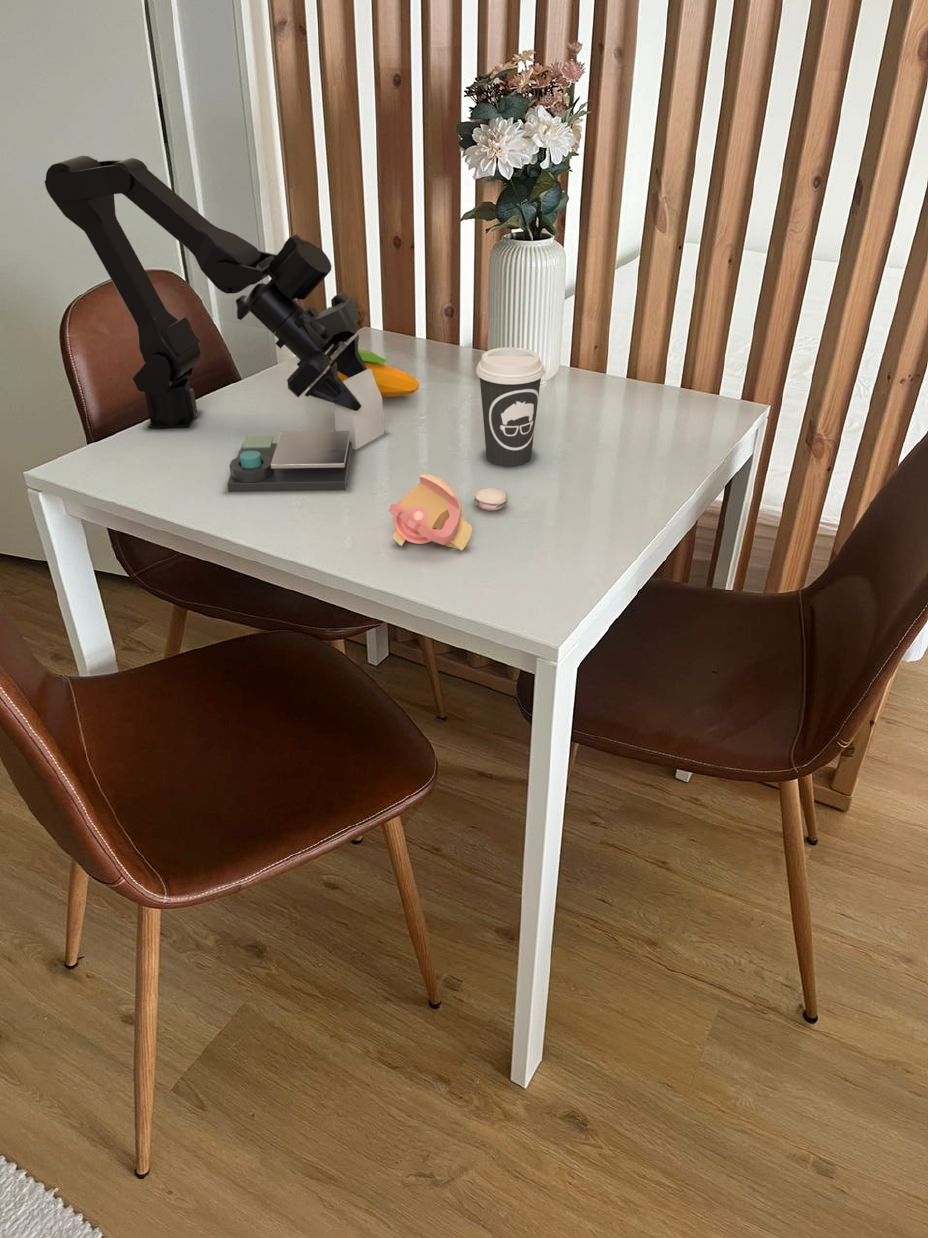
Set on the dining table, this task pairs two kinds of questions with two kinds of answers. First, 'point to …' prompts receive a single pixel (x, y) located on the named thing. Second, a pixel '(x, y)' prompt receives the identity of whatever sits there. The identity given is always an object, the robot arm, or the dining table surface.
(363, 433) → the tea bag
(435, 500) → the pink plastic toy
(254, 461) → the button
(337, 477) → the scale
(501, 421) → the coffee cup
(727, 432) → the dining table surface
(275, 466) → the scale pan
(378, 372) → the corn
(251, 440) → the scale display
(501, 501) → the macaroon
